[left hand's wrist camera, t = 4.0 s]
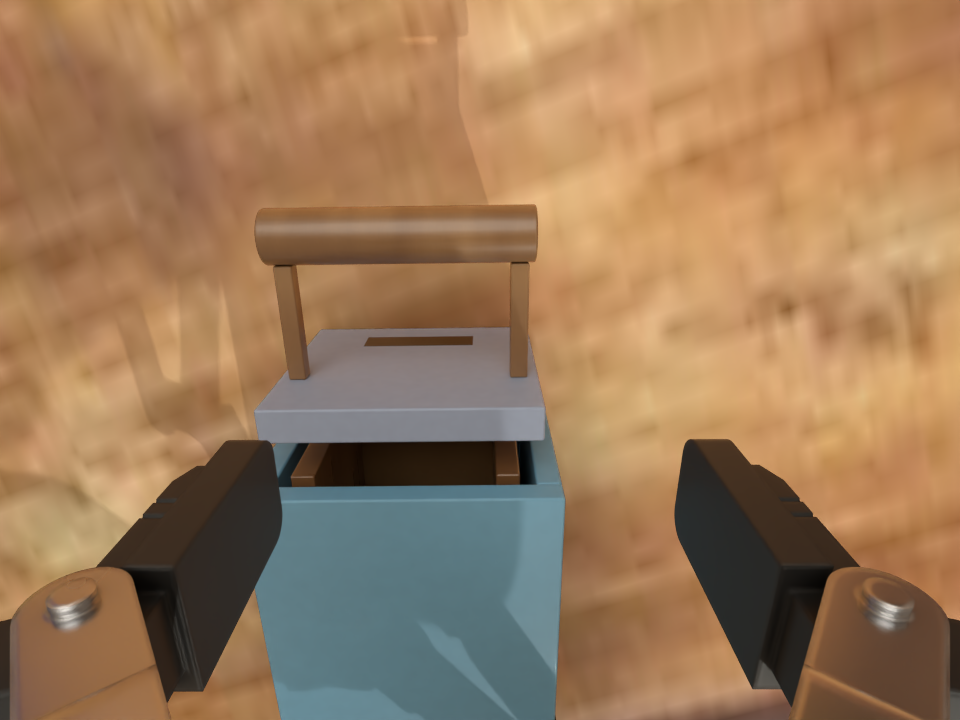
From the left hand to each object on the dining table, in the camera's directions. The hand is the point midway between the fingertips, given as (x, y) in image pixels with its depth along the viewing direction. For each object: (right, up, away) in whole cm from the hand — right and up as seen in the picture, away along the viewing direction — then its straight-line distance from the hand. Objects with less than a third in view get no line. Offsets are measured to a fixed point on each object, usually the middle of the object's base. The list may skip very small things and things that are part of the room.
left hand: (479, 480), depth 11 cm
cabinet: (-2, -8, +20) cm, 21 cm away
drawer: (-2, -2, +16) cm, 17 cm away
